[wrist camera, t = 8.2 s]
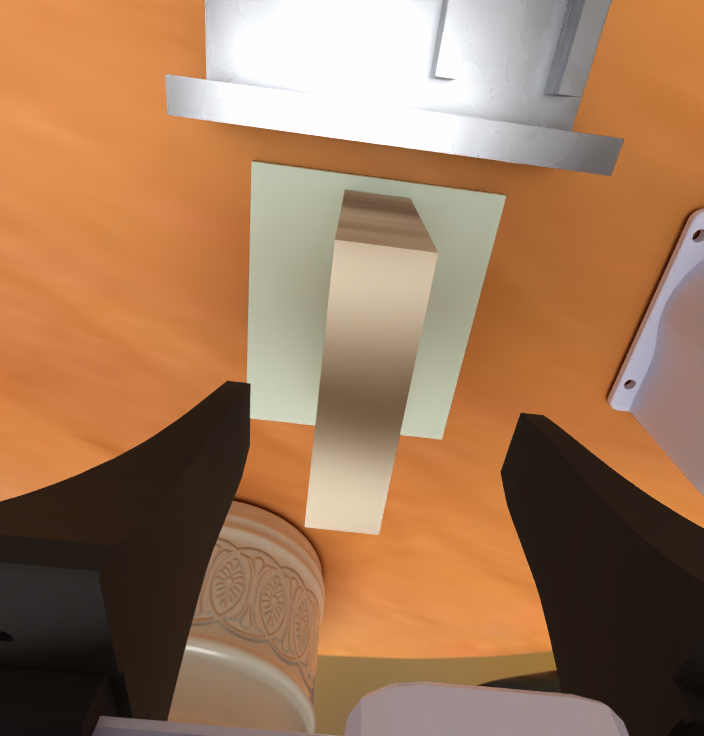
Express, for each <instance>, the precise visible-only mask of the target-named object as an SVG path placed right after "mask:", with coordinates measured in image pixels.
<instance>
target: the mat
mask: <svg viewBox="0 0 704 736" xmlns="http://www.w3.org/2000/svg"><path fill="white" fill-rule="evenodd" d="M345 189H347V190H355V191H362V192H370V193H377V194H385V195H393V196H400V197H408V198H411V200H412V202H413V204H414V206H415V208H416V210H417V212H418V214H419V216H420V218H421V220H422V222H423V224H424V226H425V228H426V230H427V232H428V234H429V236H430V238H431V240H432V241H433V243H434V245H435V247H436V249H437V251H438V257H437V262H436V267H435V271H434V276H433V281H432V286H431V290H430V295H429V300H428V304H427V309H426V314H425V319H424V323H423V328H422V333H421V338H420V342H419V347H418V352H417V356H416V361H415V366H414V371H413V375H412V380H411V385H410V390H409V394H408V399H407V404H406V408H405V413H404V418H403V423H402V427H401V432H400V435H405V436H414V437H423V438H432V439H441V440H442V437H443V433H444V429H445V426H446V422H447V418H448V414H449V410H450V407H451V403H452V399H453V395H454V392H455V388H456V384H457V380H458V377H459V373H460V369H461V365H462V362H463V358H464V354H465V350H466V346H467V343H468V339H469V335H470V331H471V328H472V324H473V320H474V316H475V313H476V309H477V305H478V301H479V297H480V294H481V290H482V286H483V282H484V279H485V275H486V271H487V267H488V264H489V260H490V256H491V252H492V249H493V245H494V241H495V237H496V233H497V230H498V226H499V222H500V218H501V215H502V211H503V207H504V203H505V200H506V195H504V194H499V193H492V192H484V191H477V190H469V189H462V188H455V187H447V186H440V185H432V184H425V183H417V182H410V181H403V180H395V179H388V178H380V177H373V176H365V175H358V174H351V173H343V172H336V171H328V170H321V169H313V168H306V167H299V166H291V165H284V164H276V163H269V162H261V161H252V165H251V212H250V259H249V306H248V353H247V383H251V391H250V418H253V419H262V420H271V421H280V422H289V423H298V424H307V425H315V423H316V414H317V404H318V395H319V385H320V376H321V366H322V357H323V348H324V338H325V329H326V319H327V310H328V300H329V291H330V281H331V272H332V262H333V253H334V243H335V237H336V232H337V227H338V221H339V216H340V211H341V206H342V201H343V196H344V191H345Z"/></svg>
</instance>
